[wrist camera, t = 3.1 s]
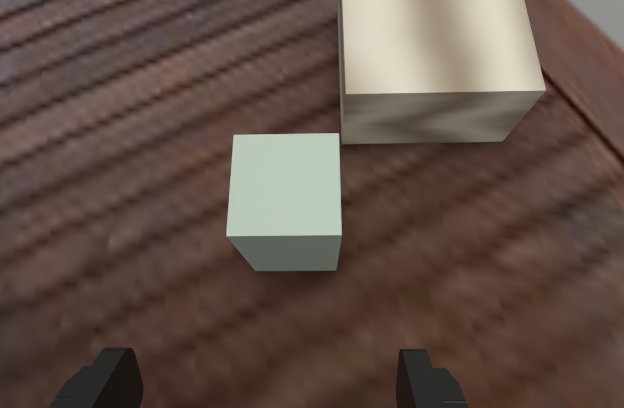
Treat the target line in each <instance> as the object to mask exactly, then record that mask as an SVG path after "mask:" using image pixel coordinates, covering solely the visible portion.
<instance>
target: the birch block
mask: <svg viewBox="0 0 624 408" xmlns="http://www.w3.org/2000/svg"><path fill="white" fill-rule="evenodd" d="M338 44H339V77H340V109H341V141H342V144H382V143H446V142H503V141H504V139H505V138H506V137H507V136H508V135H509V133H510V132H511V131H512V130H513V129H514V128H515V126H516V125H517V124H518V123H519V122H520V120H521V119H522V118H523V117H524V116H525V115H526V113H527V112H528V111H529V110H530V109H531V107H532V106H533V105H534V104H535V103H536V102H537V100H538V99H539V98H540V97H541V96H542V94H543V93H544V92H545V91H546V89H545V85H544V81H543V76H542V72H541V68H540V64H539V60H538V56H537V52H536V47H535V43H534V39H533V35H532V31H531V27H530V23H529V18H528V14H527V10H526V6H525V2H524V0H339V2H338Z"/></svg>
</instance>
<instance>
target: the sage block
mask: <svg viewBox="0 0 624 408" xmlns="http://www.w3.org/2000/svg"><path fill="white" fill-rule="evenodd" d="M226 236H227V238H228V239H229V240H230V241H231V242H232V244H233V245H234V246H235V247H236V248H237V250H238V251H239V252H240V253H241V254H242V256H243V257H244V258H245V259H246V260H247V261H248V263H249V264H250V265H251V266H252V267H253V269H254V270H255V271H336V270H337V263H338V256H339V250H340V243H341V236H342V229H341V193H340V157H339V133H326V134H263V135H234V140H233V153H232V166H231V180H230V193H229V207H228V220H227V233H226Z"/></svg>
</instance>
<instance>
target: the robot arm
mask: <svg viewBox="0 0 624 408" xmlns="http://www.w3.org/2000/svg"><path fill="white" fill-rule="evenodd" d="M142 396H143V382H142V378H141V375H140V371H139V367H138V364H137V360H136V356H135V353H134V350H133V349H132V348H105V349H103V350H102V351H101V352H100V354H99V355H98V357H97V358H96V360H95V361H94V363H93V364H92V366H84V367H83V368H82V369H80V370H79V371H78V372H77V373H76V374H75V375H73V376H72V377H71V378H70V379H69V380H67V382H66V383H65V385H64V386H63V387H62V389H61V390H60V392H59V393H58V395H57V396H56V399H55V400H53V402H52V403H51V405H50V406H49V407H48V408H139V407H140V404H141V401H142ZM396 399H397V407H398V408H468V406H467V404H466V403H465V398H464V396H463V393H462V390H461V388H460V385H459V383H458V382H457V381H456V379H455V378H454V377H453V376H452V375H451V374H450V372H449V371H448V370H447V369H446V368H432V365H431V362H430V358H429V355H428V352H427V351H426V349H400V352H399V361H398V371H397V382H396Z"/></svg>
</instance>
